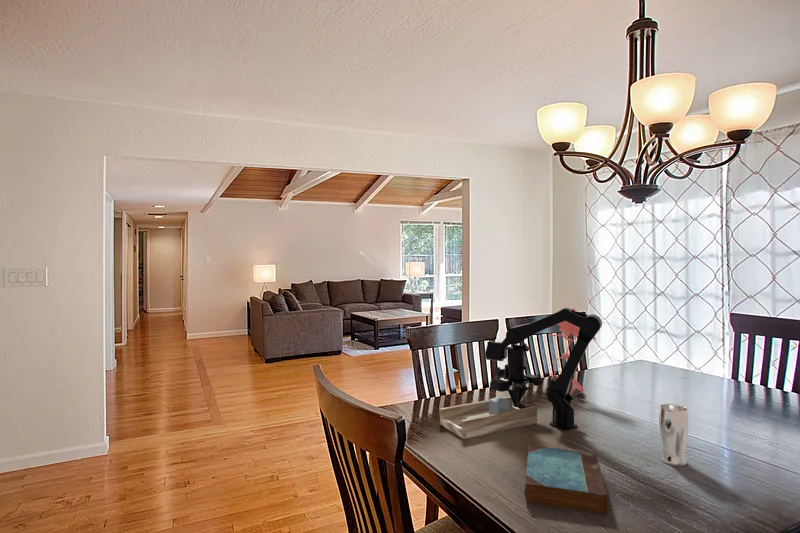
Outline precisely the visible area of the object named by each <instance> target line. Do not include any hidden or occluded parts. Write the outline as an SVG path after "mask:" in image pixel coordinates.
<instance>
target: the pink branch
mask: <svg viewBox="0 0 800 533" xmlns="http://www.w3.org/2000/svg"><path fill="white" fill-rule="evenodd" d="M570 309H571V310H574V311H576V308H574V307H573V308H570ZM577 312H579V311H577ZM557 325H558V326H559V331H560V332H561V333H562V334H552V330H551V327H549V328H548V331H549V336H550V337H561V338H564V339H565V340H567V342H568V345H567V349H566V352H563V353H562V356H561V357H558V358H555V359H553V360H552V366H553V373H554V375H552V376H551V377H550V380H551V379H552V378H553V377H554V376H556V377H557V378H558V377H559V376H558V375H556V370H555V364H554V363H555V362H556V361H558V360H560V359H564V360H568V358H569V355H570V353H568V352H569V349H570V346H571V342H574V341H575V340H577V339H578V334H579V330H580V327H577V326H575V325H573V324H571V323H569V322H567V321H563V322H561V323H558V324H557ZM571 335H572V336H573V337H574V338H573V339H571V338H570V337H569V336H571ZM593 339H594V340H595V341H597V338H596V336H594V338H593ZM593 339H592V340H593ZM571 383H572V385H571V386H572V387H571V391H570V393H569V394H570V395H571V396H572V395H573V392H574V388H576V389H577V390H578V391H579V392H580V393H582V394H583V393H584V387H582V385H581V384H580V382H579V381H577V369H576V370H575V372H574V379H571ZM582 398H583V399H584V398H587V397H586V396H584V397H583V396H582Z"/></svg>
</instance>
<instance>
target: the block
mask: <svg viewBox="0 0 800 533" xmlns="http://www.w3.org/2000/svg"><path fill="white" fill-rule="evenodd" d="M488 400H489V414H496V413H501V412H507V411H510V401H509V400H506V399H504V398H501V397H498V396H497V397H494V398H488Z"/></svg>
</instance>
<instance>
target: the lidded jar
mask: <svg viewBox="0 0 800 533" xmlns="http://www.w3.org/2000/svg"><path fill="white" fill-rule="evenodd" d="M503 380H504V381H508V380H505V379H503ZM496 396H497V398H498V397H501V398H503V397H509V396H510V394H509V392H508V391H503V392H499V391H497V390H496ZM510 397H511V396H510ZM522 400H524V397H523V398H522ZM522 400H521V402H522ZM512 406H514V405H513V402H512Z"/></svg>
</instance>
